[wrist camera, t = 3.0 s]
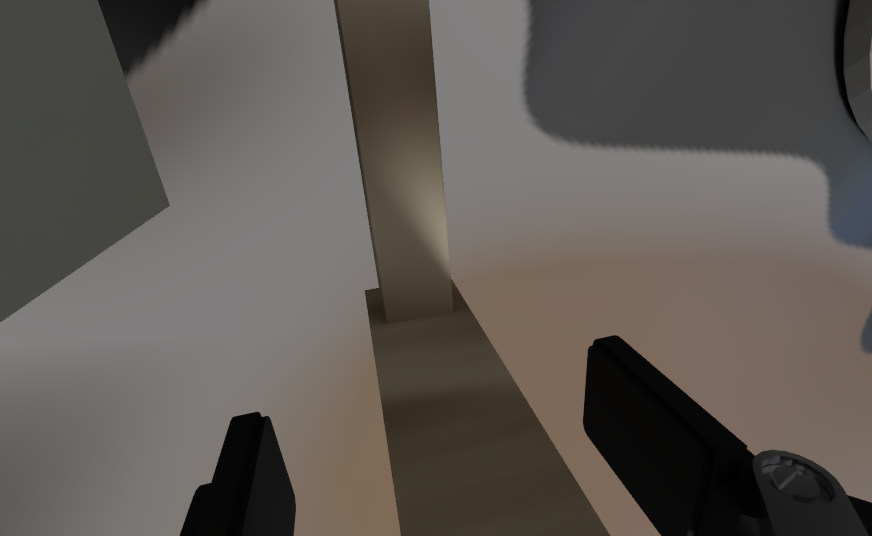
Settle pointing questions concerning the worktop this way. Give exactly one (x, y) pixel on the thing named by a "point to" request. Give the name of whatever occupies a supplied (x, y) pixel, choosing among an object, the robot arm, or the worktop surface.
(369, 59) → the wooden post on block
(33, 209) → the grey block
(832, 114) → the worktop surface
